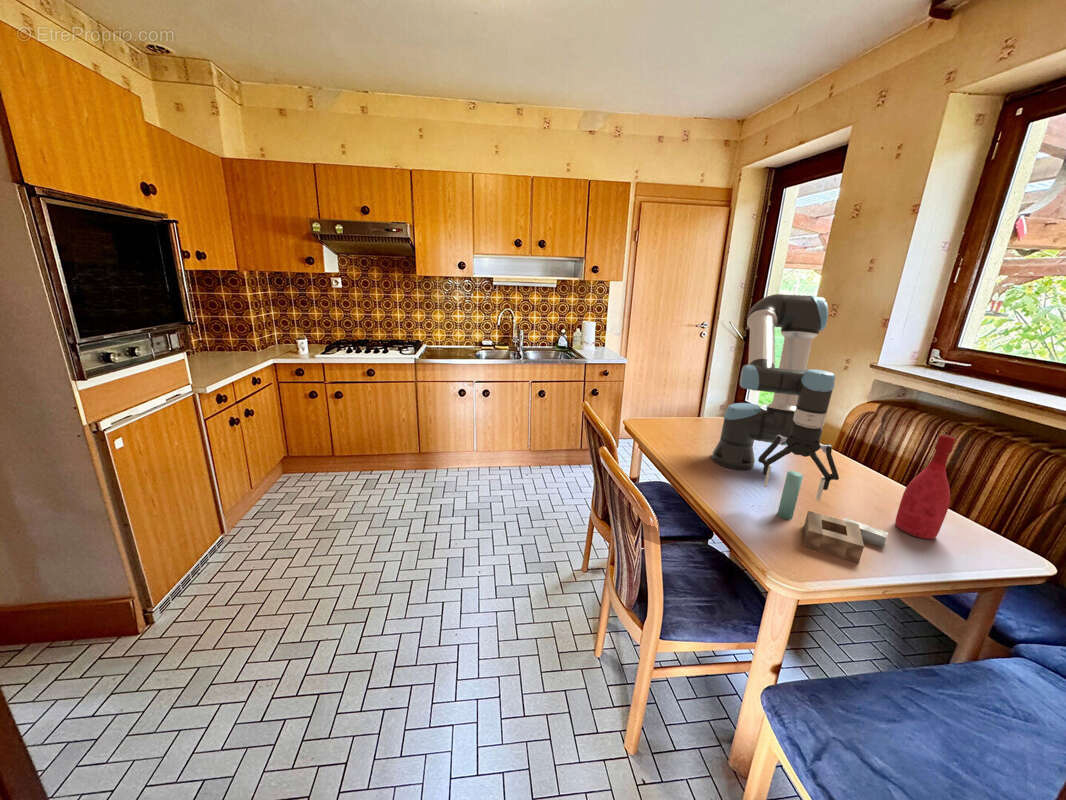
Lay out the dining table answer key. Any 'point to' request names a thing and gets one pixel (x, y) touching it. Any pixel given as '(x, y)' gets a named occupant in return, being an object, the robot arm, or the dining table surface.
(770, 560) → the dining table surface
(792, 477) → the peg
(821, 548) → the socket block
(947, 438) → the wine bottle
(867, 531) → the grey bar
